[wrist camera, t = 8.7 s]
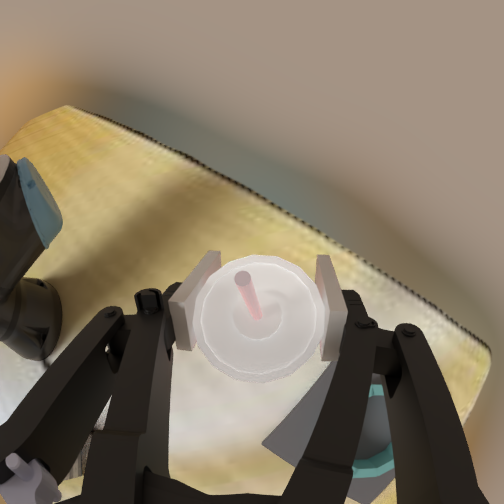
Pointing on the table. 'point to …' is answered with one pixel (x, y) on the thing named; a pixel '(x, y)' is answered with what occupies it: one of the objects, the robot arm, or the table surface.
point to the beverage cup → (258, 318)
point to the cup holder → (370, 444)
